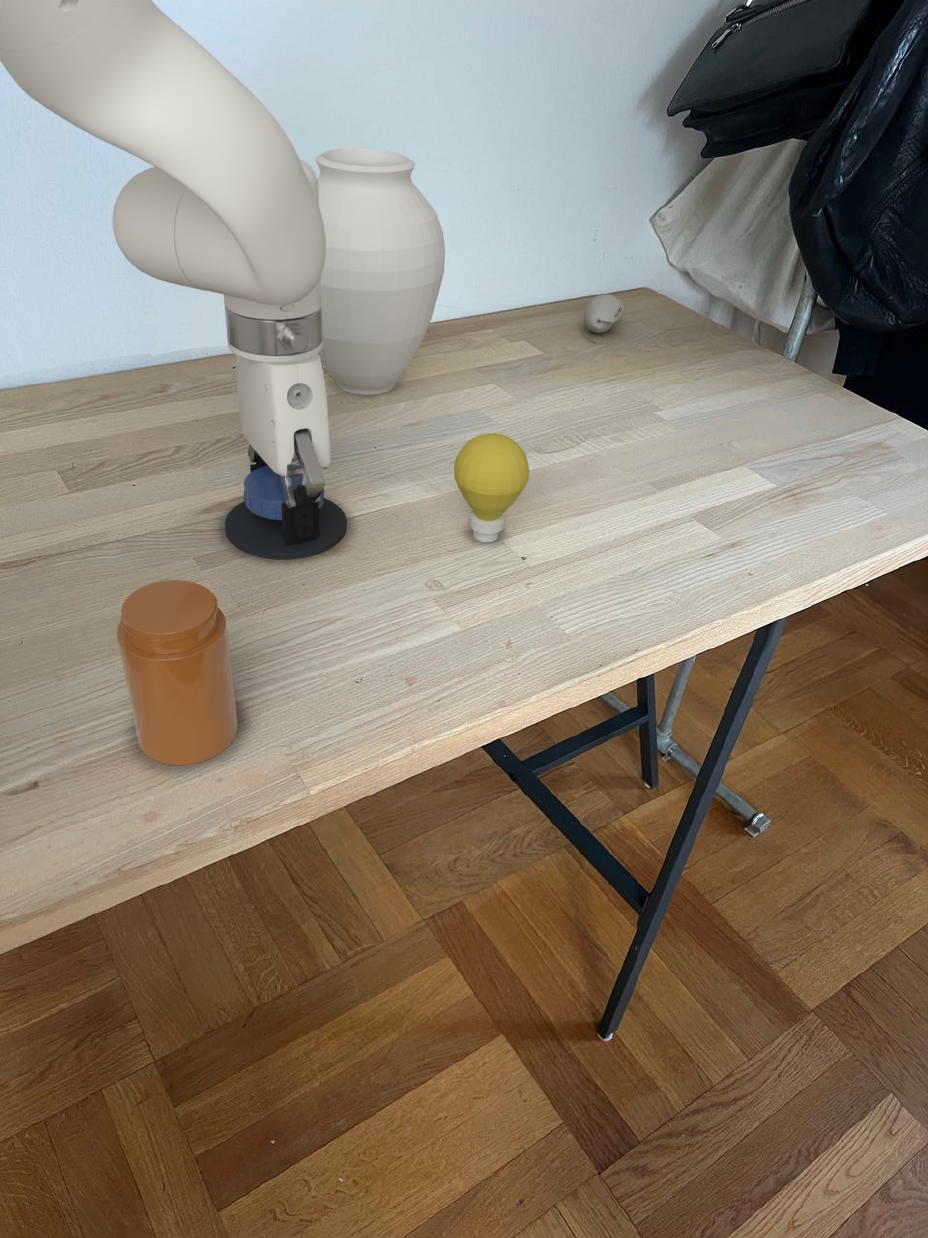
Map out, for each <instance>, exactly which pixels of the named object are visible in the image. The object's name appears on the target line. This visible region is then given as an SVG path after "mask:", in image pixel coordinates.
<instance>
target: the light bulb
mask: <svg viewBox="0 0 928 1238" xmlns="http://www.w3.org/2000/svg"><path fill="white" fill-rule="evenodd" d="M453 467H454V468H453V474H454V477H453V478H454V480H455V482H456V484H457V487H458V489H459V491H460V493H461V495H462V497H463V499H464V501H465V502H466V503H467V506H469V508H470V509H471V511H470V514H469V519H468V520H469V521H468V523H469V527H470V529H471V530H472V536H473V539H475V540H476V541H479V542H482V543H492V542H493V543H494V542H495V541H497V540H498V538H499V533H500V532H501V531H503V530H504V527H505V520H506V517H505V514H504V513H505V512H506V511H507V510H508V509H509V508H511V506H512V505H513V504H514V503H515V502H516V501H517V499H518V498H519V496H520V495H521V494H522V492H523V491H524V489H525V488H526V486H527V484H528V482H529V478H530V467H529V461H528V458H527V455H526V453H525V451H524V449H523V448H522V447H521V446H520V445H519V444H518V442H516V441H515V440H514V439H512V438H511V437H509V436H507V435H504V434H501V433H495V432H490V433H489V432H487V433H484V434H479V435H476V436H475V437H473V438H471V439H470V440H468V441H467V442H466V443H465V444H464V445H463V446H462V447H461V449H460V450H459V452H458V454H457V455H456V458H455V460H454V466H453Z"/></svg>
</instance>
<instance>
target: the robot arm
mask: <svg viewBox="0 0 928 1238" xmlns="http://www.w3.org/2000/svg"><path fill="white" fill-rule="evenodd" d="M0 63H1V64H2V66H3V67H4V69H5V70H6V71H7V73H8V74H9V75H10V77H11V78H12V79H13V81H14V82H15V83H16V85H17V86H18V87H19V88H20V89H21V90H22V91H23V92H24V93H25V94H26V95H28V96H29V97H30V98H31V99H32V100H34V101H35V102H37V103H38V104H39V105H41V106H43V108H45V109H47V110H49V111H50V112H52V113H54V114H55V115H56V116H58V117H59V118H61V119H63V120H64V121H66V122H68V123H69V124H71V125H73V126H75V127H76V128H78V129H80V130H82V131H84V132H86V133H88V134H89V135H91V136H93V137H95V138H96V139H99V140H101V141H103V142H105V143H107V144H109V145H111V146H113V147H116V148H118V149H119V150H122V151H124V152H125V153H128V154H130V155H132V156H134V157H136V158H138V159H140V160H142V161H143V162H145V163H148V164H149V165H150V166H152V167H150V168H146V169H144V170H143V171H140V172H138V173H137V174H135V175H134V176H132V177H131V178H130V179H129V180H128V181H126V183H125V184H124V185H123V187H122V188H121V190H120V191H119V193H118V195H117V197H116V200H115V203H114V206H113V210H112V230H113V235H114V239H115V241H116V244H117V246H118V248H119V250H120V251H121V253H122V255H123V256H124V258H125V259H126V261H128V262H129V263H130V264H131V265H132V266H134V267H135V268H136V269H137V270H139V272H141V273H143V274H144V275H147V276H149V277H151V278H154V279H156V280H158V281H162V282H166V283H170V284H174V285H178V286H181V287H187V288H190V289H196V290H198V291H199V290H200V291H204V292H211V293H216V294H220V295H223V303H224V304H223V305H224V314H225V315H224V316H225V326H226V327H225V328H226V338H227V347H228V349H229V351H230V352H231V353H232V354H234V355H235V363H236V364H235V367H236V369H235V370H236V391H237V392H236V393H237V406H238V416H239V422H240V428H241V431H242V434H243V436H244V438H245V440H246V441H247V442H248V450H247V456H248V459H249V463H251V464H249V471H250V472H249V474H250V473H251V472H252V471H254V470H256V469H259V468H261V467H265V466H269V467H270V468H271V469H272V470H273V471H274V472H275V473H277V474H278V475H280V478H281V482H282V487H283V492H284V496H285V501H286V503H282V521H283V538H284V541H285V543H286V544H287V545H293V544H297V543H301V542H305V541H309V540H314V539H317V538H318V537H319V536H320V528H319V502H320V495H321V492H322V489H323V488H324V489H325V486H326V479H325V475H324V472H323V470H322V469H324V470H325V469H329V468H330V466H331V463H332V447H331V445H332V443H331V430H330V416H329V405H328V396H327V388H326V381H325V373H324V369H323V364H322V363H321V359H320V356H319V354H318V353H319V352H320V351H321V349H322V347H323V341H322V306H321V304H322V301H321V274H322V271H323V267H324V262H325V256H326V236H325V229H324V223H323V219H322V215H321V211H320V208H319V190H318V181H317V179H318V177H317V174H316V172H315V171H314V169H313V167H312V166H311V165H310V164H308V162H306V161H305V160H302V159H300V158H299V156H298V153H297V151H296V149H295V147H294V145H293V143H292V142H291V140H290V138H289V136H288V135H287V133H286V132H285V131H284V129H283V127H282V126H281V124H280V123H279V122H278V120H277V119H276V117H274V114H272V112H270V111H269V109H268V108H267V107H266V105H264V104H263V102H262V101H261V100H260V99H259V98H258V97H257V96H256V95H255V94H254V93H253V92H252V91H251V90H250V89H249V88H248V87H247V86H246V85H245V84H243V82H241V80H239V79H238V78H237V77H236V76H235V75H234V74H233V73H231V72H230V70H229V69H228V68H227V67H225V66H224V65H223V63H221V61H219V59H217V58H216V57H215V56H214V55H212V53H210V51H209V50H207V49H206V48H205V47H204V46H203V45H202V44H201V43H200V42H199V41H198V40H196V38H194V37H193V36H192V35H190V34H189V33H188V32H187V31H186V30H185V29H184V28H183V27H181V26H180V25H178V23H176V22H175V21H174V20H173V19H171V17H169V16H168V15H167V14H165V12H163V11H162V10H161V8H159V7H158V6H157V5H156V4H155V2H154V1H153V0H0ZM297 461H298V465H300V467H297V468H292V469H287V465H290V464H292V462H297ZM302 474H303V482H302V483H303V484H302V485H299V486H297V488H296V489H295V490H293V485H292V481H291V477H292V476H297V475H302Z"/></svg>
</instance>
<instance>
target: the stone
mask: <svg viewBox="0 0 928 1238" xmlns="http://www.w3.org/2000/svg"><path fill="white" fill-rule="evenodd" d="M624 310H625V305H624V304H623V301H621V300H620V299H619V298H618V297H616V296H614V295H612V294H608V293H606V294H605V293H604V294H599V295H597V296H594V297H593V298H591V299H590V301H588V302H587V304H586V306H585V308H584V311H583V321H584V323H585V326H586V327H587V329H588V330H589V331H590V332H591V333H595V334H603V333H605V332H607V331H609V330H610V329H611V328H612V327H613V325H614V323H616V322H617V321H618V320H619V319H620V318H621V316H622V315H623V314H624Z"/></svg>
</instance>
